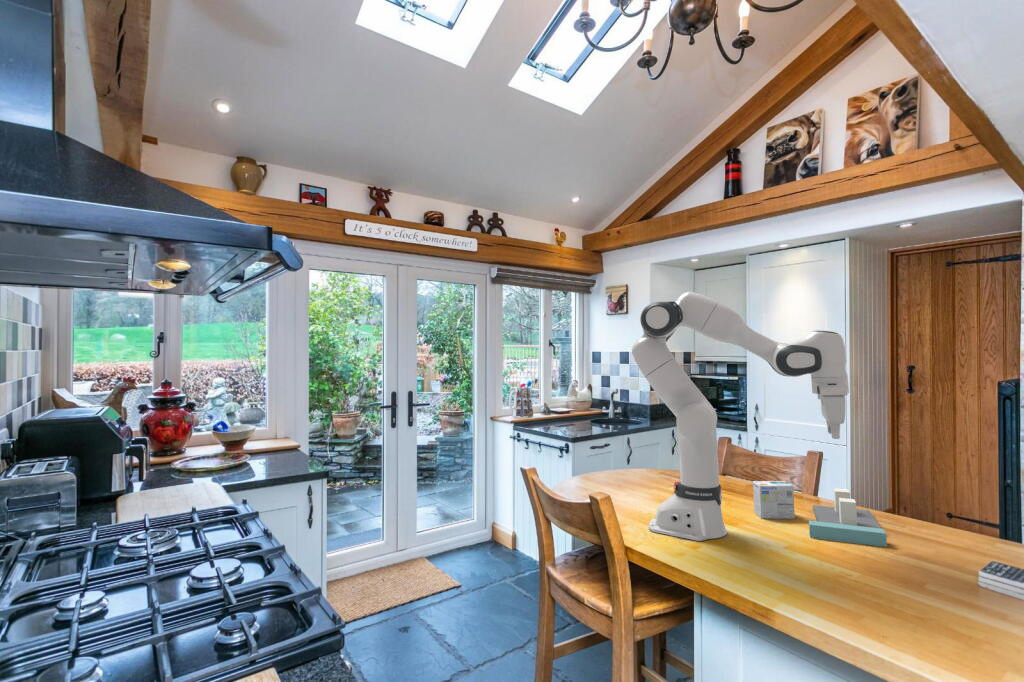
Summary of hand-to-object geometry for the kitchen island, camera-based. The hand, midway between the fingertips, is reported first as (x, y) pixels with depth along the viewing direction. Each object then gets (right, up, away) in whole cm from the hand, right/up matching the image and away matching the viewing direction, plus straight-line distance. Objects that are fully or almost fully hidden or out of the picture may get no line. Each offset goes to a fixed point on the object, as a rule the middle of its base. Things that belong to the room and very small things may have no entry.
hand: (833, 436), depth 142 cm
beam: (+4, -30, +1) cm, 30 cm away
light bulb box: (-5, -31, +23) cm, 39 cm away
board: (+14, -30, +16) cm, 36 cm away
